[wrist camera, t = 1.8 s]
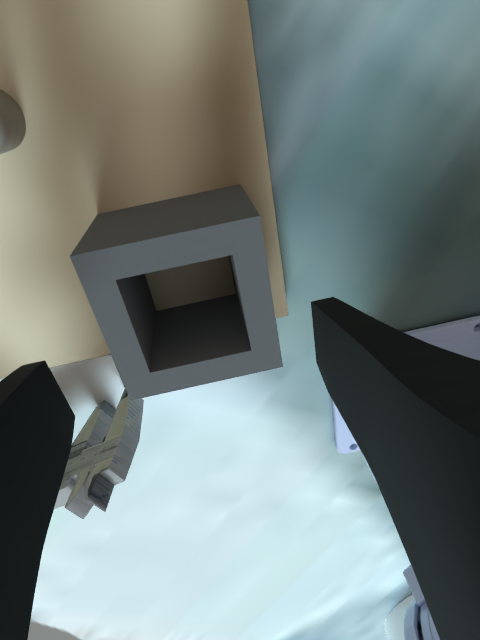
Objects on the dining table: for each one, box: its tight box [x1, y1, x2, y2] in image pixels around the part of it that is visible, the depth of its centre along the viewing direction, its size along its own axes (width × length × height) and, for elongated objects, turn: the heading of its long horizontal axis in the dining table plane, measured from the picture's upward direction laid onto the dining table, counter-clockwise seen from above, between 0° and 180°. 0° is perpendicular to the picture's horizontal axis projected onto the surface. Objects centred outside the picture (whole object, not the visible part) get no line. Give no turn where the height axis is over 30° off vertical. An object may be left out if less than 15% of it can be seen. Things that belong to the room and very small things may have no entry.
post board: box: [0, 0, 288, 379], centre depth 14 cm, size 14×13×5 cm
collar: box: [70, 184, 283, 400], centre depth 15 cm, size 6×6×4 cm
